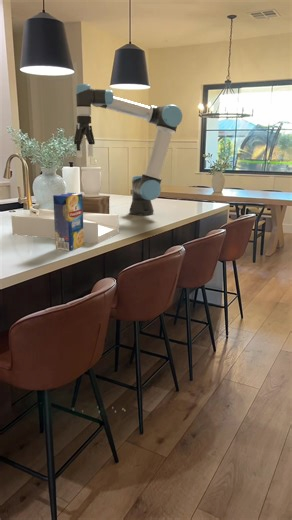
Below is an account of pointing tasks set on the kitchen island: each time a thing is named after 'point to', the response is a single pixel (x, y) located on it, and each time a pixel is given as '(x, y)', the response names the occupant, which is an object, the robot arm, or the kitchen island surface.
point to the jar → (91, 181)
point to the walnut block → (96, 204)
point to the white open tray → (44, 225)
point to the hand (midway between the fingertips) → (85, 156)
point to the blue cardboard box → (68, 221)
